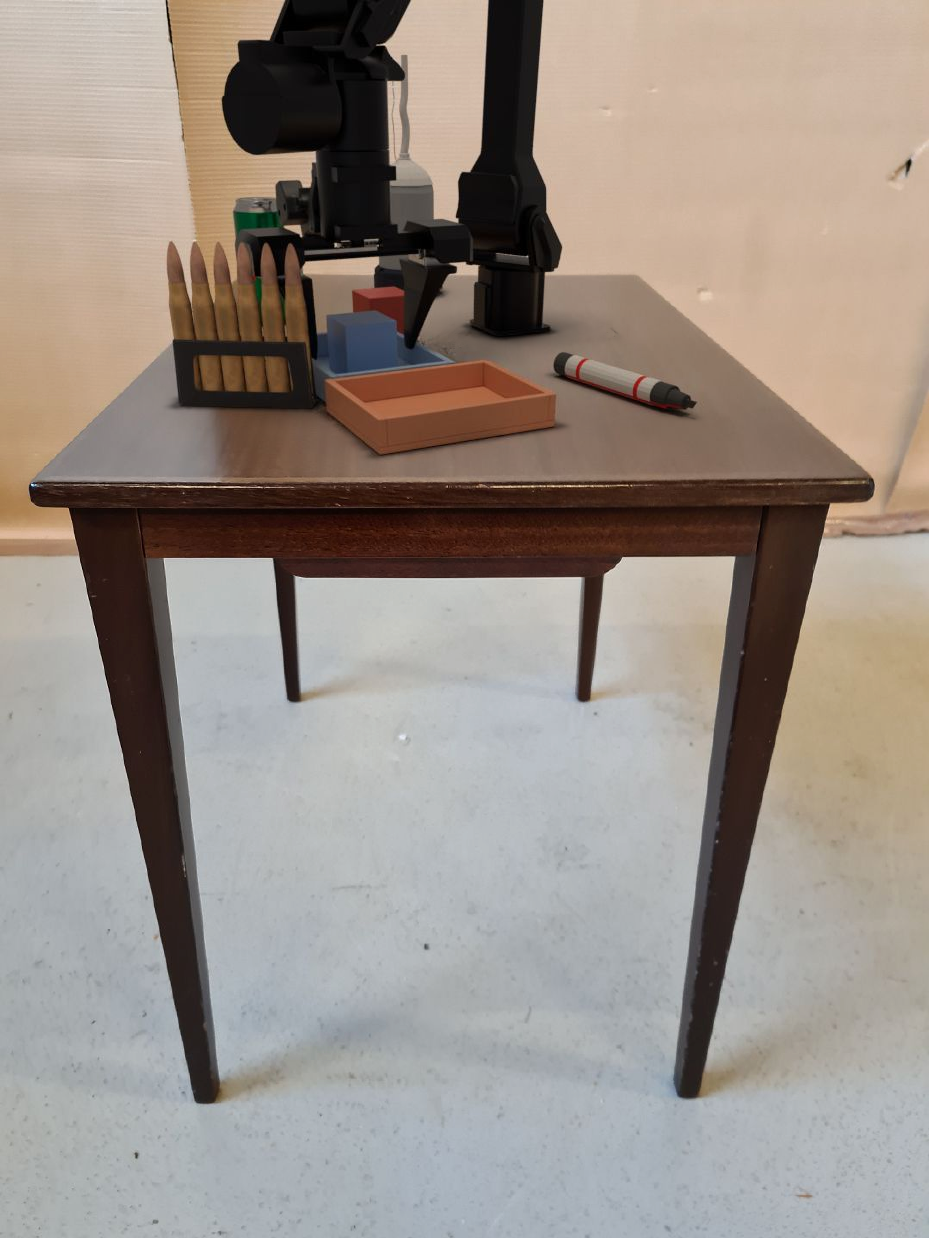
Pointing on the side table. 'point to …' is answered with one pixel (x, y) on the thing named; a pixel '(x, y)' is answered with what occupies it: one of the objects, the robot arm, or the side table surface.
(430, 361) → the blue tray
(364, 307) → the red block
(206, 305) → the ammunition clip
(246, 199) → the soda can
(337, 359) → the blue block
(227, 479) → the side table surface
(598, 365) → the marker
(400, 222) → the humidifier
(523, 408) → the terracotta tray
